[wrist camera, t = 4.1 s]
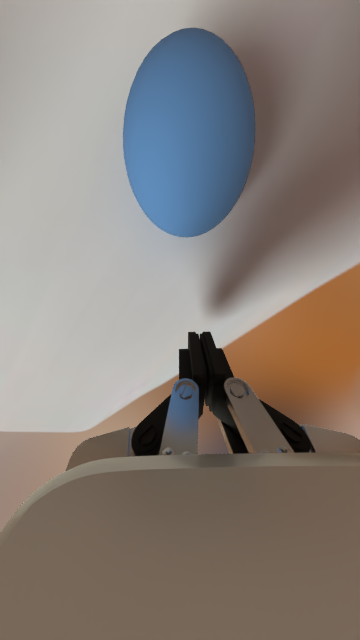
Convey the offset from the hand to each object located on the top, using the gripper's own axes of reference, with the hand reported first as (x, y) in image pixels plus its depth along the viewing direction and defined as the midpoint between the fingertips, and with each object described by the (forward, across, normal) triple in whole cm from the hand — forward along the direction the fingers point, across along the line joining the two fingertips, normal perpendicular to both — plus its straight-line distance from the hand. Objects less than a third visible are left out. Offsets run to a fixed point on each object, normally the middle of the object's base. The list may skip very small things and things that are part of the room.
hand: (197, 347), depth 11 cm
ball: (+1, +1, -10) cm, 10 cm away
